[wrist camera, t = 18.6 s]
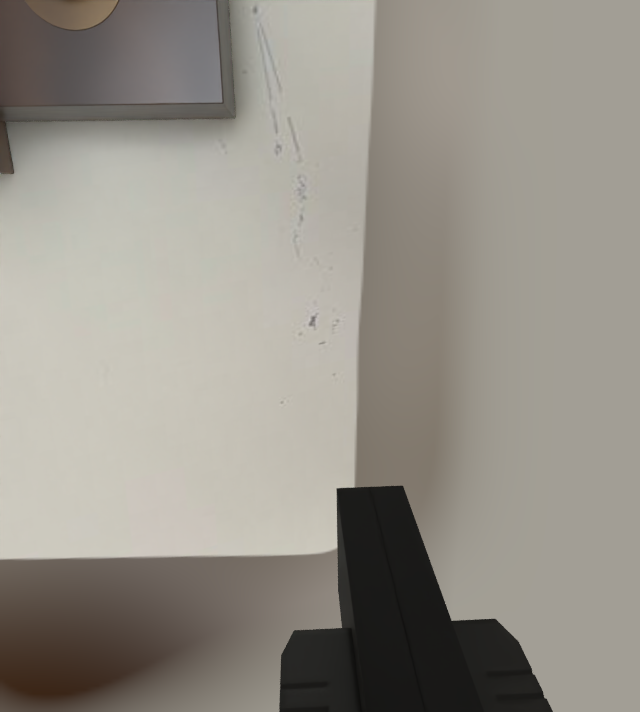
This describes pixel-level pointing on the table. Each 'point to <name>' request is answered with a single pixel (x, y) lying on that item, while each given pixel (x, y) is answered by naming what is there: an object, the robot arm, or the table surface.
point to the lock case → (113, 61)
